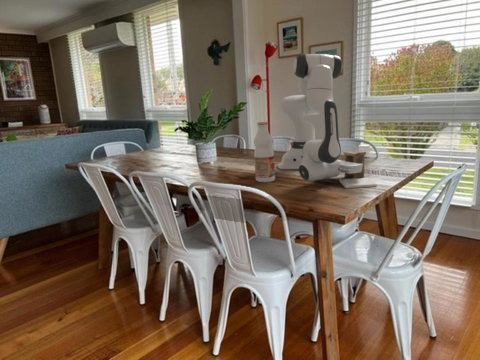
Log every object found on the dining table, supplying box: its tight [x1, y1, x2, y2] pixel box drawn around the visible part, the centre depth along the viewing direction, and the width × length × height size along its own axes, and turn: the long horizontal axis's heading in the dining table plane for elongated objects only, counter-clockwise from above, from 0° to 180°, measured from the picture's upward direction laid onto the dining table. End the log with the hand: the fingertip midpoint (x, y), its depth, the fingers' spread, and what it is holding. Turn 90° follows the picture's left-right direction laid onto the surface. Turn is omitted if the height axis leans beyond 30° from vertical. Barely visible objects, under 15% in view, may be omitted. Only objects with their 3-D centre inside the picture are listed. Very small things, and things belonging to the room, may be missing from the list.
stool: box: [343, 149, 366, 179], centre depth 171 cm, size 7×7×12 cm
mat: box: [338, 177, 378, 189], centre depth 160 cm, size 13×12×1 cm
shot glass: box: [358, 143, 372, 158], centre depth 221 cm, size 7×7×7 cm
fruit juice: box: [253, 121, 276, 183], centre depth 174 cm, size 9×9×28 cm
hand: (354, 163), depth 171 cm, fingers open, 8 cm apart
